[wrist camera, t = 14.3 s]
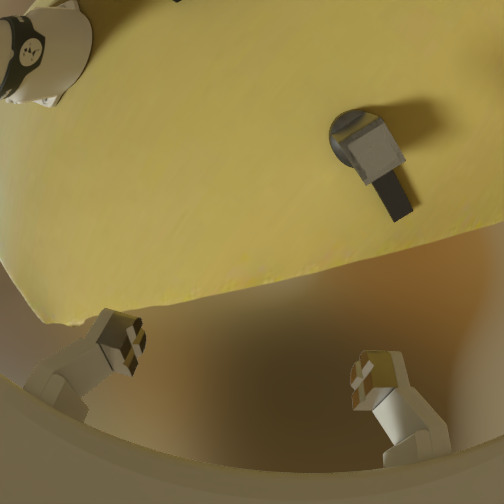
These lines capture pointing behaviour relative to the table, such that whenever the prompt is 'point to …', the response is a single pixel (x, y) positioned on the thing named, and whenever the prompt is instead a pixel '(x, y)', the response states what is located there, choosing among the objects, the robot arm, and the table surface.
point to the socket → (369, 147)
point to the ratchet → (383, 185)
